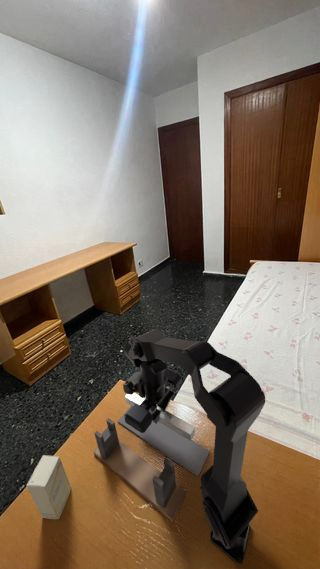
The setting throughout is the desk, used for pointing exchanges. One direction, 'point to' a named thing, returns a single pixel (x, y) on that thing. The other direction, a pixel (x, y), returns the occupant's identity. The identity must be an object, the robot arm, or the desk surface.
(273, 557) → the desk surface
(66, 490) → the skincare box
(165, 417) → the steel rail
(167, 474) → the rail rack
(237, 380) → the robot arm
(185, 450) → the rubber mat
